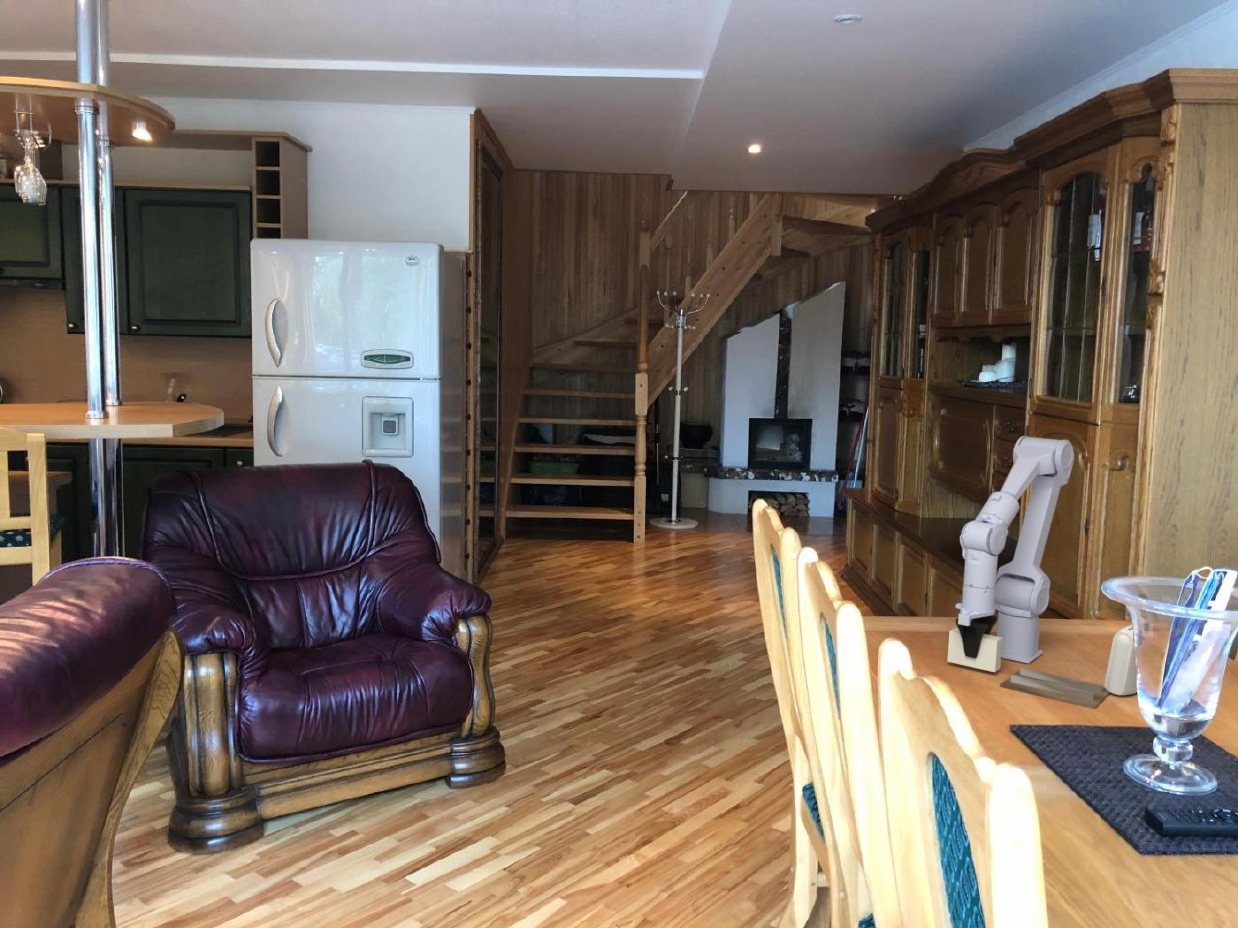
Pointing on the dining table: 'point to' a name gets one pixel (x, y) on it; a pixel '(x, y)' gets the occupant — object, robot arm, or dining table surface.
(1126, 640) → the cream rounded upright block
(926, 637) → the dining table surface
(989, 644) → the cream rectangular block
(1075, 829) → the dining table surface
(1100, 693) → the track board
